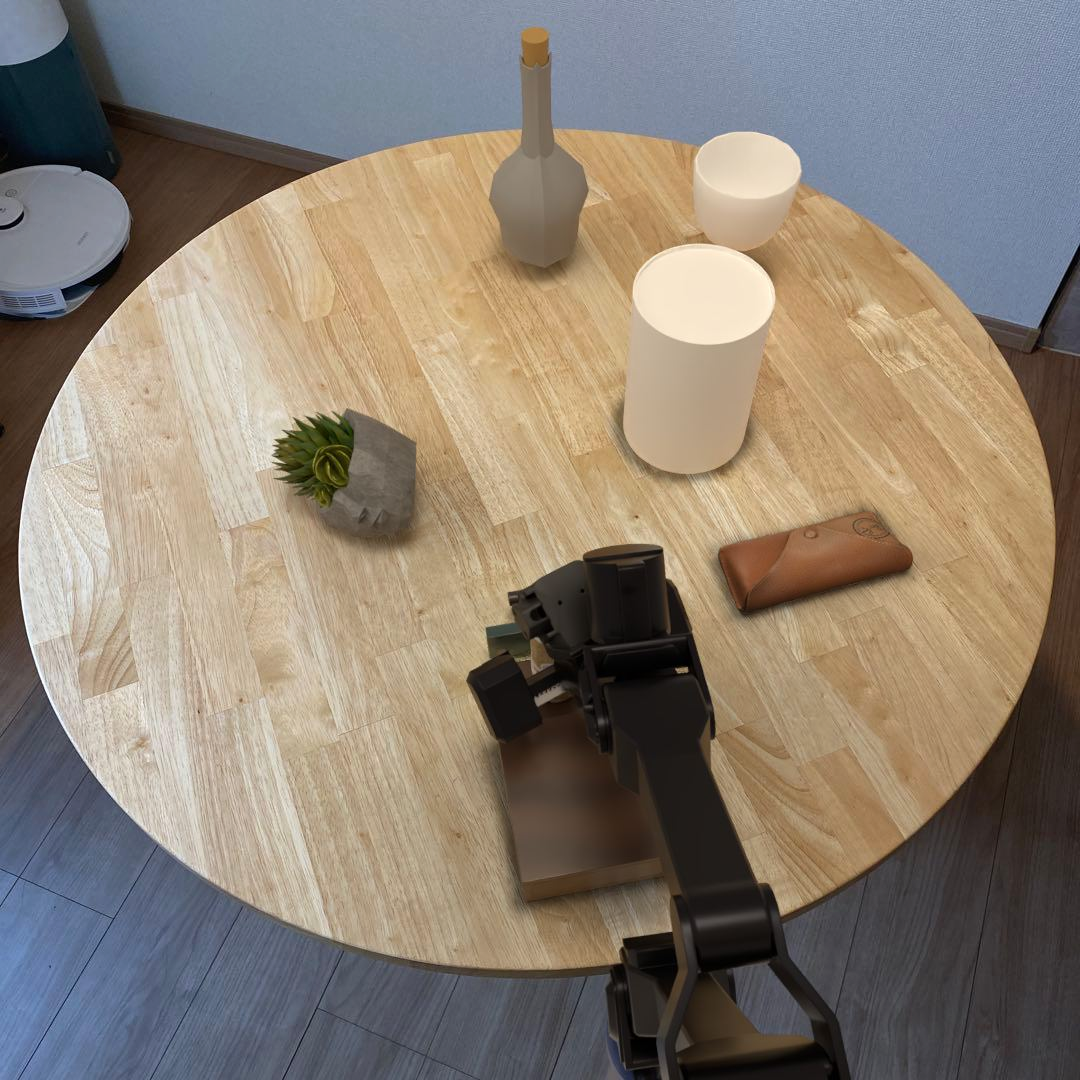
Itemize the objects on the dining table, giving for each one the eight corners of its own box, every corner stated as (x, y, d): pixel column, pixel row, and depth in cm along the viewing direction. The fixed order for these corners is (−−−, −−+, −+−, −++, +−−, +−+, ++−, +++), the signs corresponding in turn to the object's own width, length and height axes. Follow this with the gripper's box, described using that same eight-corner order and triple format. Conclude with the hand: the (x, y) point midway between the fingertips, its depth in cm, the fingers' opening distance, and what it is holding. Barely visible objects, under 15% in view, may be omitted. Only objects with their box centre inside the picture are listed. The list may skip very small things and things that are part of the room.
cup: (673, 307, 127) (687, 191, 112) (687, 242, 133) (702, 124, 118) (770, 321, 125) (797, 206, 111) (780, 255, 131) (806, 137, 117)
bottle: (506, 226, 135) (493, -1, 110) (592, 236, 134) (599, 9, 109) (486, 287, 129) (467, 62, 104) (576, 298, 128) (579, 73, 103)
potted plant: (402, 560, 104) (249, 528, 101) (404, 523, 116) (268, 495, 114) (428, 443, 101) (271, 408, 98) (428, 418, 113) (288, 386, 110)
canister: (767, 413, 117) (800, 279, 101) (704, 494, 112) (728, 366, 95) (665, 362, 122) (680, 225, 105) (599, 436, 116) (605, 304, 99)
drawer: (481, 611, 103) (478, 589, 100) (594, 592, 104) (595, 570, 101) (508, 769, 94) (506, 752, 91) (632, 747, 95) (634, 729, 92)
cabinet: (499, 753, 96) (495, 727, 91) (633, 729, 97) (636, 702, 92) (524, 902, 89) (521, 883, 84) (668, 874, 90) (674, 854, 85)
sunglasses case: (872, 504, 110) (902, 499, 103) (890, 569, 110) (921, 568, 103) (711, 548, 107) (731, 545, 101) (729, 615, 107) (751, 616, 100)
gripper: (686, 529, 79) (604, 508, 93) (467, 642, 74) (416, 602, 88) (734, 657, 81) (647, 618, 96) (526, 774, 77) (467, 714, 91)
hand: (547, 635), depth 93 cm, fingers open, 9 cm apart
